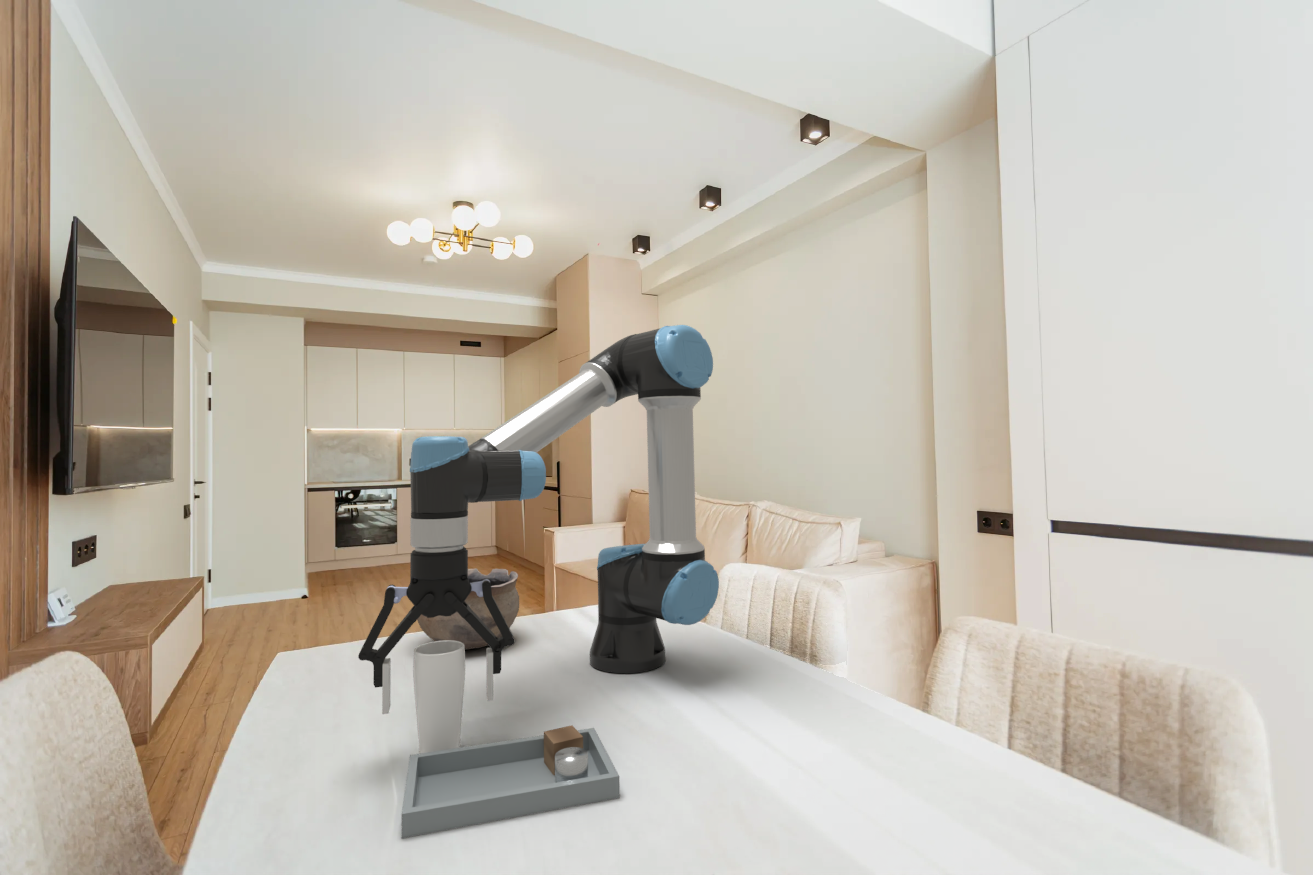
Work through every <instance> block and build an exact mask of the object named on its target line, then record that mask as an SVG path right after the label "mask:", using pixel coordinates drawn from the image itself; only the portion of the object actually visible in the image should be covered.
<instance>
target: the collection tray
mask: <svg viewBox="0 0 1313 875" xmlns="http://www.w3.org/2000/svg"><path fill="white" fill-rule="evenodd" d="M576 730H577V731H578V732H579V733H580V734H581V735H582V736H583V749H585V750H586V751H587V752H588V777H586V778H580V779H574V780H568V781H563V782H557V783H555V775H553V774H552V773H551V771H550V770H549V769H548V767H547V766H546V764H545V763H544V734H543V735H542V734H541V735H537V736H536V735H534V736H529V737H522V738H515V739H509V740H502V741H495V742H490V743H489V742H487V743H482V744H474V745H468V746H460V748H454V749H447V750H440V751H433V752H427V753H420V754H419V753H414V754H409V760H408V767H407V772H406V773H407V774H406V780H405V788H404V789H405V790H404V794H403V802H402V809H401V839H406V838H412V837H416V836H421V835H427V834H432V833H433V834H434V833H440V832H444V831H448V830H454V829H455V830H456V829H459V828H466V827H471V826H477V825H481V824H486V823H492V822H498V821H502V820H508V819H514V818H518V817H524V816H529V815H530V816H531V815H535V814H540V813H546V812H551V811H552V812H553V811H556V810H563V809H567V808H571V807H578V806H583V805H589V804H595V803H600V802H605V801H611V800H615V799H620V791H621V790H620V774H619V773H618V771H617V769H616V767H615V765H614V763H613V761H612V759H611V757H610V756H609V753H608V752H607V750H606V748H605V746H604V744H603V742H602V740H601V738H600V736H599V734H598V733H597V731H596V729H595V727H590V728H582V729H576Z"/></svg>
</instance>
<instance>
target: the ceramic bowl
mask: <svg viewBox="0 0 1313 875" xmlns="http://www.w3.org/2000/svg"><path fill="white" fill-rule="evenodd" d="M518 577H519V574H518V573H517V571H513V570H512V571H510V572H509V570H508V569H506V568H493V569H491V571H490V572H489V573H488V574H485V573H484V574H483V573H482V572H480V571H479V569H478V568H468V580H469V582H470V583H472V582H478V581H482V580H483V579H485V578H487V579H489V580H490V583H491V590H492V596H493V598H494V600H495V602H496V604H497V606H498V607H499V609H500V611H501V613H502V615H503V617H504V619H505V621H506V623H507V625H508V627H509V629H510V628H511V627H512V626H513V624H514V623H515V620H516V618H517V616H518V613H519V611H520V610H519V609H520V595H519V593H518V590H517V587H516V586H517V581H518ZM465 602H466V603H467V604H468V605H469V607H470V608H471V609H472V611H473V612H474V613H475V614H476V615H477V616H478V617H479V618H480V619H481V620H482V621H483V622H484V624H485V625H486V626H487V627H488V628H489V629H490V630H491V631H492V632H493V633H494V634H495V636H496V637H497V638H500V637H502V635H501V633H500V631H499V629H498V627H497V625H496V623H495V621H494V619H493V617H492V615H491V613H490V611H489V610H488V608H487V606H486V604H485V601H484V598H483V597H479V596H478V595H477V593H476V592H475V591H471V593H470V594H469V595H468V597H467V598H466V600H465ZM416 622H417V623H418V625H419V628H421V631H423V633H424V634H425V635H426V636H427V637H429V638H430V639H431V640H432V642H435V641H445V640H451V641H459V642H462V643H463V644H464V645H465V650H471V649H479V648H484V647H486V646H489V645H488V644H487V643H486V642H485V641H484V640H483V638H482V637H481V636H480V635H479V634H478V633H477V632H476V631H475V630H474V629H473V628H472V627H471V626H470V624H469V623H468V622H467V621H466V620H465V619H464V618H462V617H461V616H460V614H459V613H458V612H456V613H454V614H452V615H451V616H440V615H439V616H436V617H433V618H427V617H426V616H423V615H422V614H421V615H420V617H419V618H418V619H417V620H416Z"/></svg>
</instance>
